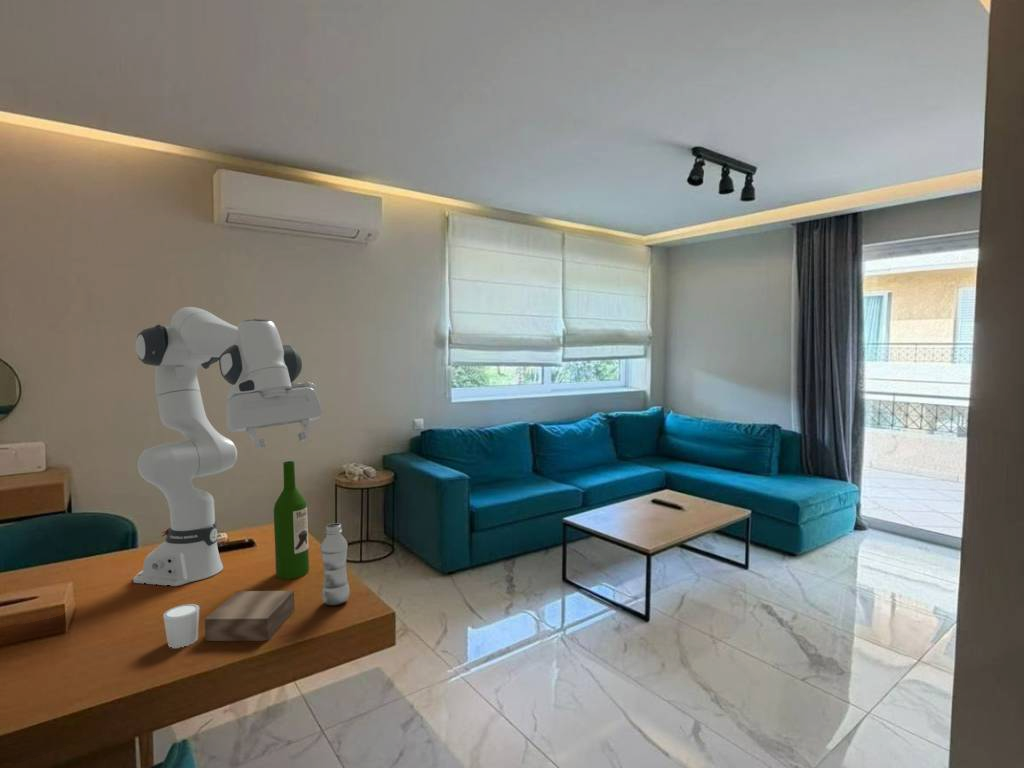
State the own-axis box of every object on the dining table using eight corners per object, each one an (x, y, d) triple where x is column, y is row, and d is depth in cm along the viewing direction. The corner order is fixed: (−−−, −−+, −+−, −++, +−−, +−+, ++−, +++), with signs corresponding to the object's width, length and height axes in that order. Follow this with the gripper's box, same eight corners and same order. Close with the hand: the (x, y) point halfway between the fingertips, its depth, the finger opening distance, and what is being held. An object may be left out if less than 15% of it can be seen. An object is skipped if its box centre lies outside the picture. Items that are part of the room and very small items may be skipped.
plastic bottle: (354, 601, 137) (352, 524, 136) (330, 611, 132) (327, 531, 131) (341, 594, 141) (339, 519, 140) (317, 603, 136) (314, 526, 135)
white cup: (203, 631, 123) (202, 601, 123) (197, 646, 117) (196, 614, 117) (168, 637, 121) (167, 606, 120) (161, 652, 114) (159, 620, 114)
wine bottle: (296, 580, 150) (292, 465, 149) (269, 577, 153) (264, 464, 151) (315, 568, 159) (312, 459, 157) (289, 565, 161) (285, 458, 159)
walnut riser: (205, 641, 119) (204, 619, 119) (238, 611, 133) (237, 591, 133) (268, 640, 119) (267, 618, 118) (294, 610, 133) (293, 590, 132)
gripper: (310, 385, 132) (323, 439, 129) (218, 394, 118) (230, 455, 116) (319, 377, 127) (332, 433, 125) (225, 386, 113) (237, 449, 111)
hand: (282, 444), depth 120 cm, fingers open, 8 cm apart
